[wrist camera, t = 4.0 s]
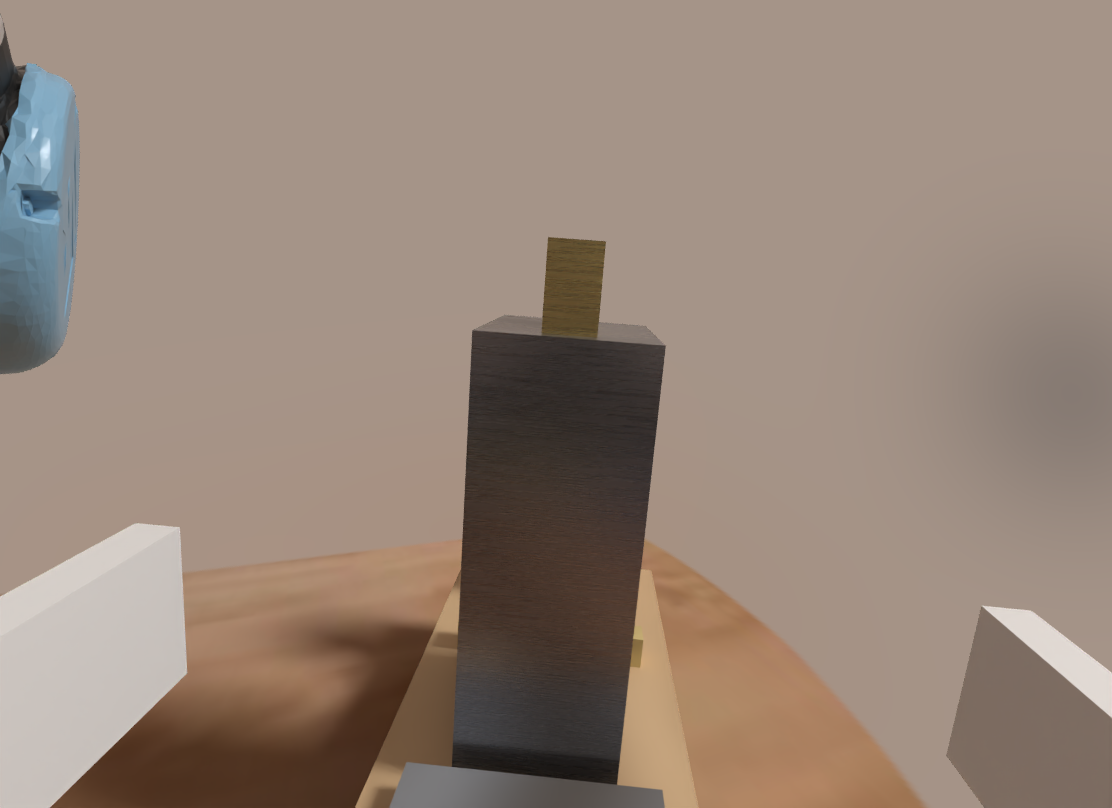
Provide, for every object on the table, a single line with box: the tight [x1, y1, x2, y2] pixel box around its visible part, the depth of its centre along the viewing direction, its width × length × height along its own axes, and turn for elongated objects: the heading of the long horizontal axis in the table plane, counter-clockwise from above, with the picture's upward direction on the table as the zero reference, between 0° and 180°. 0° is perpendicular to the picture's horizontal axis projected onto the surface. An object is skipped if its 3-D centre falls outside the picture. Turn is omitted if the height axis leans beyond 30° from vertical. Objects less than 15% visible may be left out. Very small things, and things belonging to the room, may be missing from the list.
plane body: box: [355, 569, 698, 808], centre depth 18 cm, size 8×18×11 cm, turn 177°
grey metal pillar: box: [452, 237, 665, 785], centre depth 16 cm, size 4×5×13 cm
